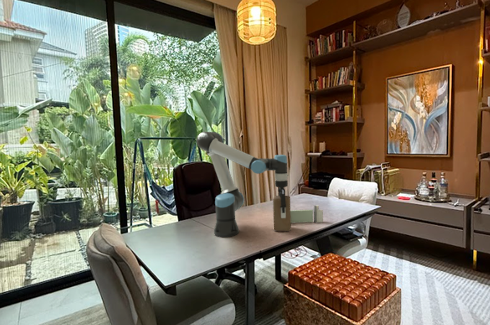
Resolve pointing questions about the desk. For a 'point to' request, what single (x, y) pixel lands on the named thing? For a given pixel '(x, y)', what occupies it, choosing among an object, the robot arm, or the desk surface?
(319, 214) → the l-shaped block
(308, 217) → the door
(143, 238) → the desk surface
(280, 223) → the wooden block
